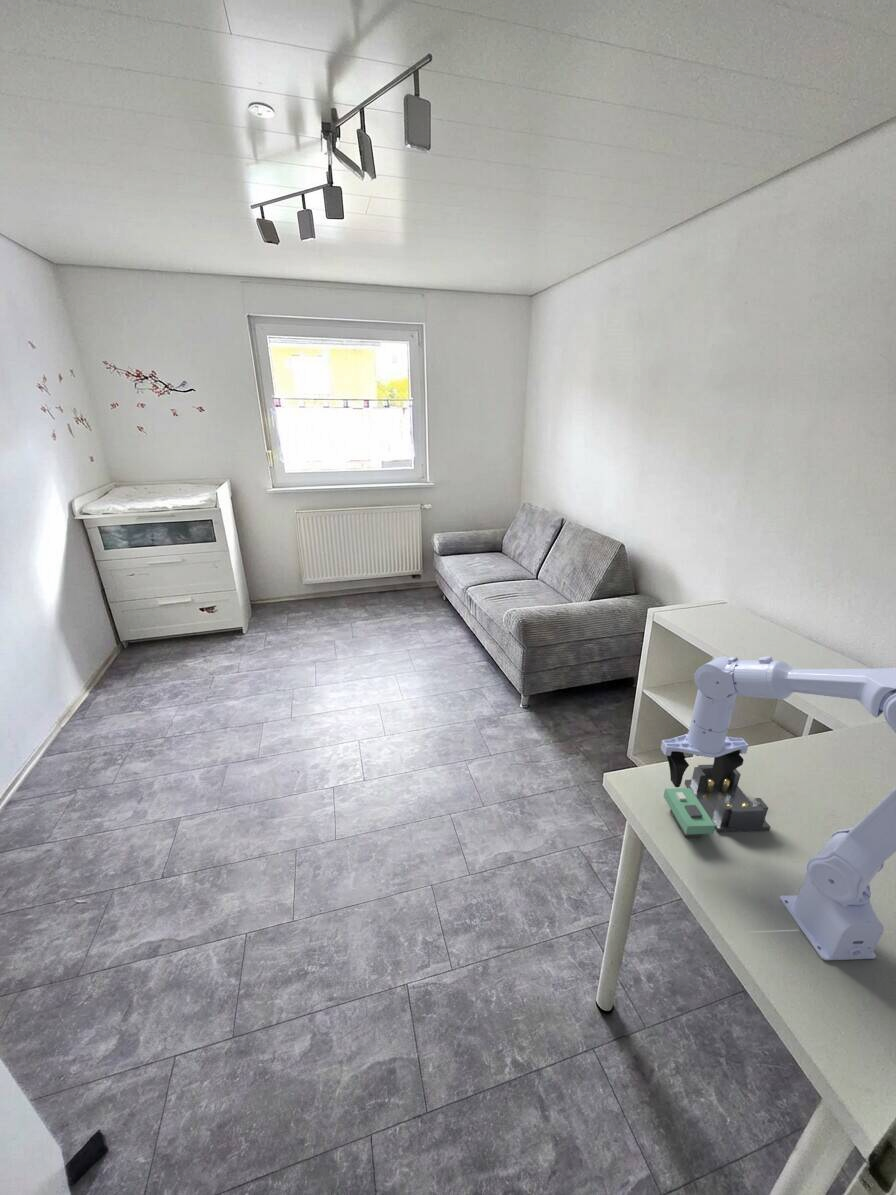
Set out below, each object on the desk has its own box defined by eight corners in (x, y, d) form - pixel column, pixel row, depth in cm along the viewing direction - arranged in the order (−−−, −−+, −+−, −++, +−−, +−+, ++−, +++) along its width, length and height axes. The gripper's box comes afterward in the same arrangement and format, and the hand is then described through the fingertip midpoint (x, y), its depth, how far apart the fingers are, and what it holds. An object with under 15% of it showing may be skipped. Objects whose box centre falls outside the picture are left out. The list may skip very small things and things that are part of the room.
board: (688, 795, 94) (690, 785, 93) (712, 833, 86) (715, 822, 85) (663, 796, 94) (665, 786, 93) (685, 834, 86) (688, 823, 85)
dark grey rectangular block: (700, 836, 88) (703, 827, 87) (684, 837, 88) (687, 827, 87) (684, 811, 94) (687, 801, 93) (669, 811, 94) (671, 802, 93)
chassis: (730, 782, 101) (735, 763, 99) (769, 830, 89) (775, 810, 87) (684, 783, 100) (688, 764, 99) (716, 832, 89) (722, 812, 87)
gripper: (737, 707, 86) (722, 766, 91) (658, 709, 86) (647, 768, 91) (762, 732, 80) (744, 794, 85) (676, 734, 79) (663, 796, 84)
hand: (695, 782), depth 87 cm, fingers open, 7 cm apart
